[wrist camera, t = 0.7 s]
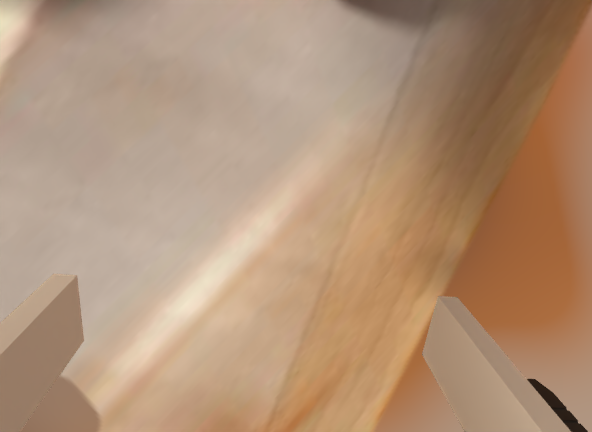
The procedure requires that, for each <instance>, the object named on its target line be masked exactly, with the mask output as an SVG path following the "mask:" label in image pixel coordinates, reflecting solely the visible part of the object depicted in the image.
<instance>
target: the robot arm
mask: <svg viewBox="0 0 592 432" xmlns="http://www.w3.org/2000/svg"><path fill="white" fill-rule="evenodd" d="M83 341H84V336H83V327H82V318H81V308H80V299H79V290H78V280H77V275H63V274H53V275H52V276H51V277H50V278H49V279H48V280H47V281H45V282H44V283H43V284H42V285H41V286H40V287H39V288H38V289H37V290H36V291H35V292H34V293H32V294H31V295H30V296H29V297H28V298H27V299H26V300H25V301H24V302H23V303H22V304H20V305H19V306H18V307H17V308H16V309H15V310H14V311H13V312H12V313H11V314H10V315H9V316H7V317H6V318H5V319H4V320H3V321H2V322H1V323H0V432H20V431H21V430H22V428H23V427H24V425H25V424H26V422H27V421H28V420H29V418H30V417H31V415H32V414H33V413H34V411H35V410H36V408H37V407H38V405H39V404H40V403H41V401H42V400H43V398H44V397H45V395H46V394H47V393H48V391H49V390H50V388H51V387H52V385H53V384H54V383H55V381H56V380H57V378H58V377H59V375H60V374H61V373H62V371H63V370H64V368H65V367H66V365H67V364H68V363H69V361H70V360H71V358H72V357H73V355H74V354H75V353H76V351H77V350H78V348H79V347H80V345H81V344H82V343H83ZM422 355H423V357H424V359H425V361H426V362H427V364H428V366H429V368H430V370H431V371H432V373H433V375H434V377H435V379H436V381H437V382H438V384H439V386H440V388H441V390H442V392H443V393H444V395H445V397H446V399H447V401H448V402H449V404H450V406H451V408H452V410H453V411H454V413H455V415H456V417H457V419H458V421H459V422H460V424H461V426H462V428H463V430H464V432H588V431H587V430H586V429H585V428H584V427H583V426H582V425H581V424H579V423H578V420H577V419H576V418H575V417H574V416H573V415H572V413H571V412H570V411H567V409H566V407H565V406H564V405H563V403H562V402H561V401H560V400H559V399H558V398H557V397H556V396H555V395H554V393H553V392H551V391H550V390H549V389H547V388H546V387H544V386H543V385H542V384H540V383H539V382H538V381H537V380H535V379H526V378H525V377H524V375H523V374H522V373H521V372H520V371H519V370H518V369H517V367H516V366H515V365H514V364H513V363H512V361H511V360H510V359H509V358H508V357H507V356H506V354H505V353H504V352H503V351H502V349H501V348H500V347H499V346H498V345H497V344H496V342H495V341H494V340H493V339H492V338H491V337H490V335H489V334H488V333H487V332H486V331H485V329H484V328H483V327H482V326H481V325H480V324H479V322H478V321H477V320H476V319H475V318H474V316H473V315H472V314H471V313H470V312H469V311H468V309H467V308H466V307H465V306H464V305H463V304H462V302H461V301H460V300H459V299H458V298H457V297H445V296H438V298H437V302H436V306H435V309H434V313H433V317H432V320H431V324H430V328H429V331H428V335H427V339H426V343H425V346H424V349H423V354H422Z"/></svg>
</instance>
